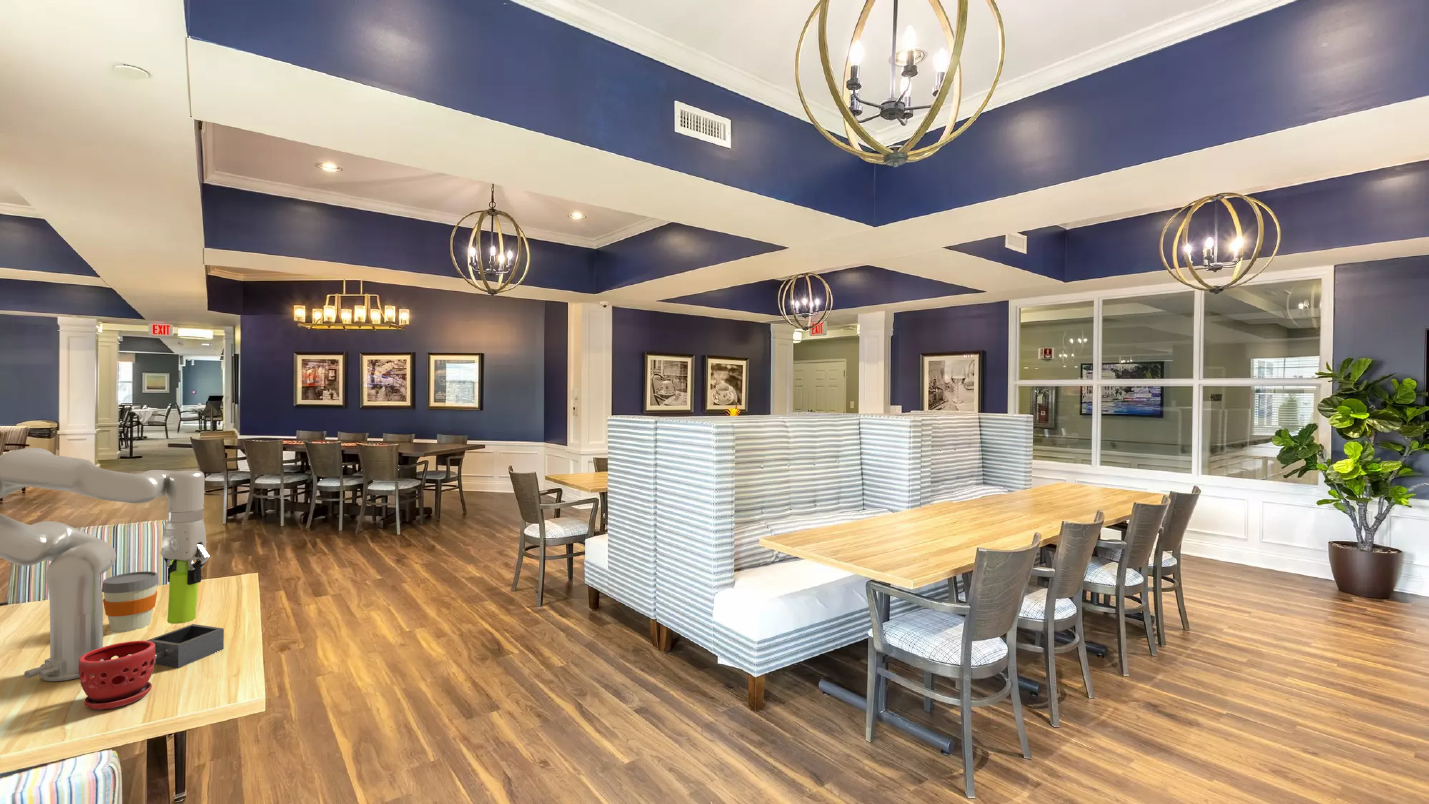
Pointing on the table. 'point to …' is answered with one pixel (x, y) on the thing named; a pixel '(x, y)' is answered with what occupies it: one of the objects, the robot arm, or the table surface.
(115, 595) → the reusable coffee cup
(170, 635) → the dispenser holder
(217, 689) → the table surface
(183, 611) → the soap dispenser
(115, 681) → the plant pot
